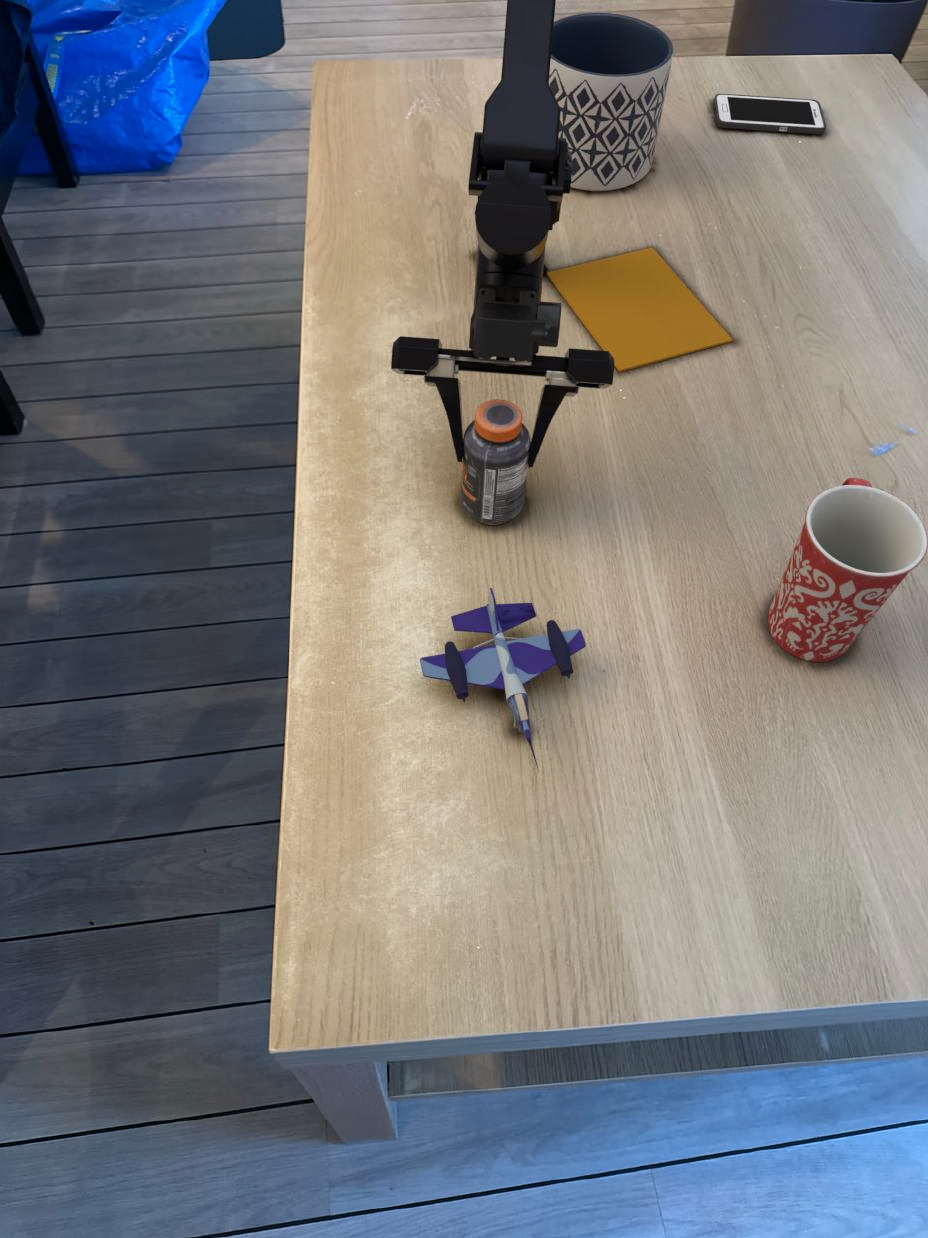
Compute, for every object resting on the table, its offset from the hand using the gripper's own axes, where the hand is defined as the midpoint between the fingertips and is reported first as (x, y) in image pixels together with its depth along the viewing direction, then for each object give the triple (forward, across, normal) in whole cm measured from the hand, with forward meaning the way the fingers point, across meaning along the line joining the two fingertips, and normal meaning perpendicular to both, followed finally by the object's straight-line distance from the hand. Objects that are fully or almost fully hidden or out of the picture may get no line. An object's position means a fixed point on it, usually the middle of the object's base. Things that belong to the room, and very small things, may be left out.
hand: (494, 464), depth 84 cm
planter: (-39, +9, +49) cm, 63 cm away
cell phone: (-49, +34, +58) cm, 83 cm away
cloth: (-18, +14, +28) cm, 36 cm away
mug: (+11, +29, -1) cm, 31 cm away
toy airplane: (+18, +2, -8) cm, 20 cm away
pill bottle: (+4, 0, +6) cm, 7 cm away
